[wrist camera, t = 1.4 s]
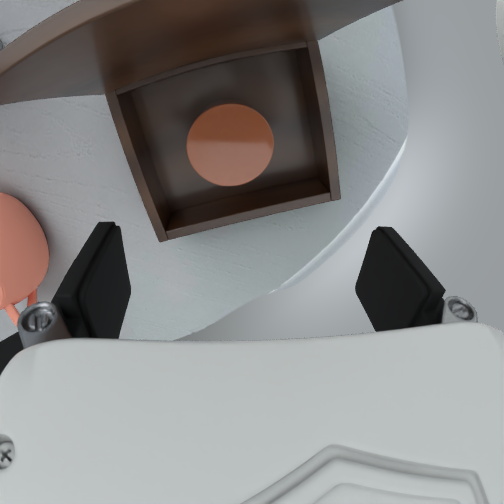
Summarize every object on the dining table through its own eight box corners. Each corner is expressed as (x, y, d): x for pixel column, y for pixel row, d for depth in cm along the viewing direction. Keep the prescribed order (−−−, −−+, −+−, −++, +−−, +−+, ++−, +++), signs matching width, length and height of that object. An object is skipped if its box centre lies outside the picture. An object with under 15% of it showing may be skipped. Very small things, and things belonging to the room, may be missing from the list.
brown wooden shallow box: (324, 180, 27) (341, 199, 23) (166, 218, 27) (159, 243, 24) (300, 40, 20) (316, 35, 16) (121, 85, 20) (103, 89, 17)
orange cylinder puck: (255, 90, 21) (264, 94, 17) (269, 156, 24) (281, 175, 20) (184, 108, 22) (175, 116, 17) (202, 172, 25) (199, 195, 20)
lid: (451, -16, 4) (444, -38, 4) (-46, 116, 5) (-50, 94, 4) (319, 40, 16) (317, 29, 16) (102, 95, 17) (99, 84, 16)
